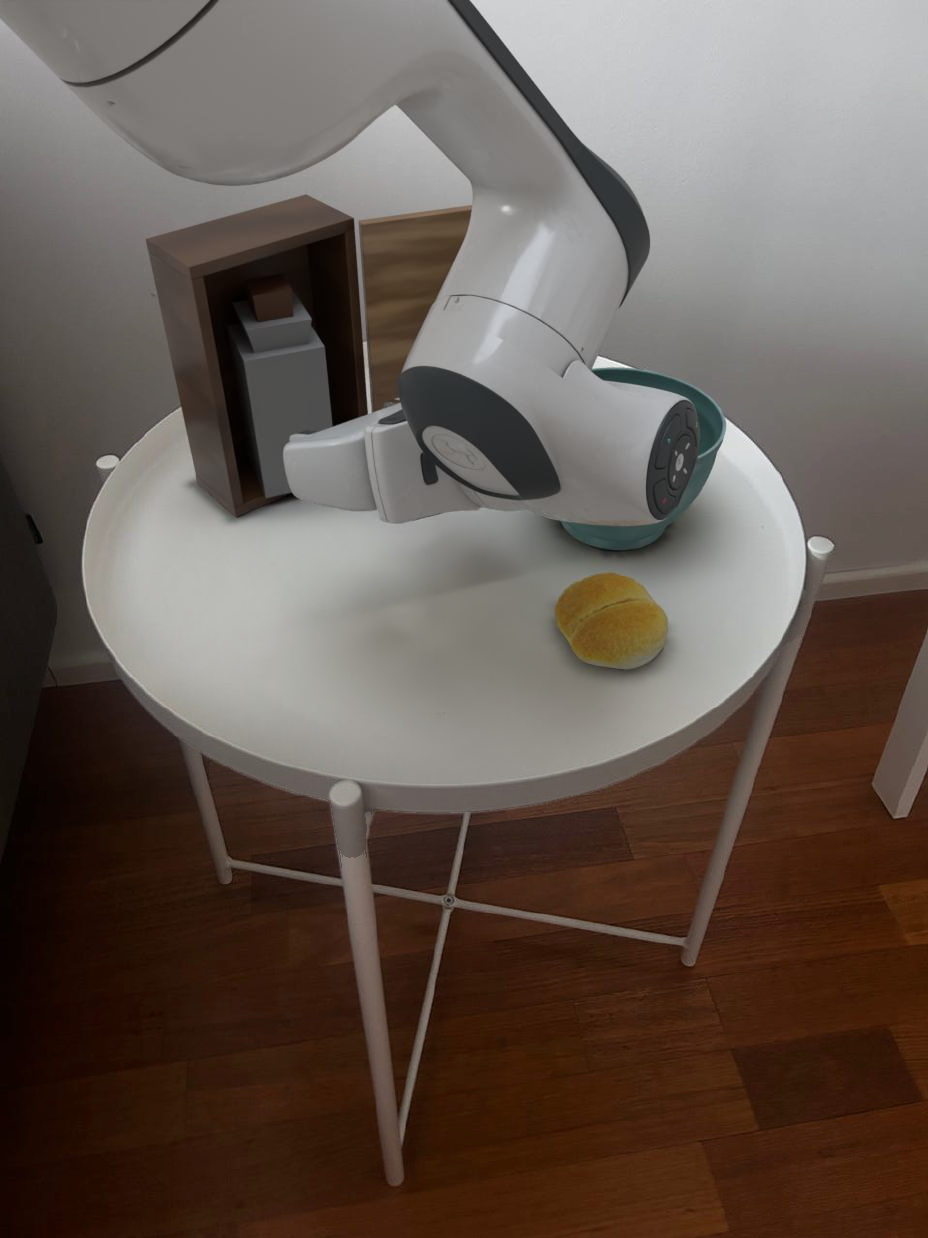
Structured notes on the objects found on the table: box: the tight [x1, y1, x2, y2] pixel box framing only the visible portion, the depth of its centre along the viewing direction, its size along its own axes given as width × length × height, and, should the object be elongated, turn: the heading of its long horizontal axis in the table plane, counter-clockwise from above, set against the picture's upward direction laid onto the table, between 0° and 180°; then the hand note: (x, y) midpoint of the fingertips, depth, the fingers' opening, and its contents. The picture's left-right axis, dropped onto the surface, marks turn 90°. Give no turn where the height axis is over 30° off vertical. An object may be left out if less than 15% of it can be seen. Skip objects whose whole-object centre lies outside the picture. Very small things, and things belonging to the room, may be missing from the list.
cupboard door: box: [357, 204, 472, 413], centre depth 93 cm, size 6×15×23 cm, turn 110°
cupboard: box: [145, 194, 369, 518], centre depth 88 cm, size 7×15×23 cm, turn 130°
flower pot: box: [560, 366, 727, 551], centre depth 86 cm, size 16×16×11 cm
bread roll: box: [554, 572, 669, 671], centre depth 78 cm, size 8×9×4 cm
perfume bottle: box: [227, 274, 333, 498], centre depth 88 cm, size 7×7×18 cm
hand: (346, 426), depth 77 cm, fingers open, 8 cm apart
